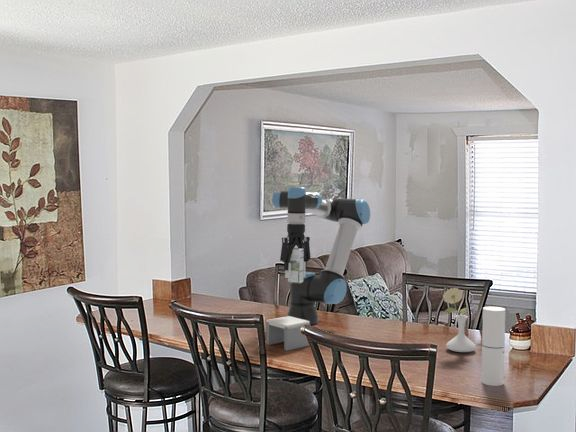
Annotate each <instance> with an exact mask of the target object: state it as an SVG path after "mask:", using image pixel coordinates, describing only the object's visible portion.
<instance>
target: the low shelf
mask: <svg viewBox="0 0 576 432" xmlns="http://www.w3.org/2000/svg"><path fill="white" fill-rule="evenodd" d="M265 321H266V323H265V324H266V333H265V335H266V338H265V339H266V340H265V341H266V343H265V344H266V345H268V346H270V345H275V344H280V343H283V344H284V345H283V347H284V348H283V349H284V351H292V350H296V349H300V348H301V349H302V348H304V347H309V345H308V341H307V339H306V337H305V336H304V335H302V334H301V332H300V328H301V327H302V326H304V325H310V321H307V320H303V319H299V318H295V317H291V316H287V315H286V316H282V317H280V316H279V317H277V318H276V317H275V318H270V319H266V320H265ZM310 326H311V325H310Z"/></svg>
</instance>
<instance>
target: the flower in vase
mask: <svg viewBox="0 0 576 432" xmlns="http://www.w3.org/2000/svg"><path fill="white" fill-rule="evenodd" d="M463 295H464V294H463V292H462V289H459V288H458V287H456V288H455V287H453V288H452V287H450V288H449V289H446V291H445V292H444V294H443V295H442V299H443V300H444V302H445V303H448V304H453V305H454V307H448V308H446V309H445V310H444V313H445V312H446V313H450V314H451V313H452V314H453V313H454V312H457V314H456V315H455V316H454V317H455V318H456V321H457V325H458V326H457V327H458V330H457V335H456V336H454V337H453V338H452V339H450V340H449V341H448V342H447V343H446V345H445V346H446V349H448V350H449V351H452V352H456V353H457V352H458V353H471V352H473V351H475V350H476V349H477V347H476V344H475V343H474V342H473V341H472V340H470V339H469V338H468V336H466V334H465V326H466V325H465V324H466V321H467V320H468V318H469V316H468V315H464V314H463V313H466V312H467V310H468V308H469V307H468V306H466V307H464V308H462V309H460V310H459V311H458V309H457V305H456V304H457V303H458V302H460V301H461V300H462V298H464V296H463Z"/></svg>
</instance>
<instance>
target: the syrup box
mask: <svg viewBox="0 0 576 432" xmlns="http://www.w3.org/2000/svg"><path fill="white" fill-rule="evenodd" d="M289 263H291V277H290V278H286V283H289V284H290V283H302V282H303V263H304V249H303V248H298V247H294V249H293V252H292V255H291V258H290V261H289Z"/></svg>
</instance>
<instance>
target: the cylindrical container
mask: <svg viewBox="0 0 576 432" xmlns="http://www.w3.org/2000/svg"><path fill="white" fill-rule="evenodd" d="M481 331H482V335H481V337H482V338H481V345H482V346H481V377H480V379H481V380H480V381H481V383H482V384H483V385H487V386H491V387H492V386H493V387H496V386H497V387H498V386H503V385H504V384H505V383H504V380H505V346H506V343H505V342H506V341H505V340H506V308H505V307H501V306H484V307H482V330H481Z"/></svg>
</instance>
